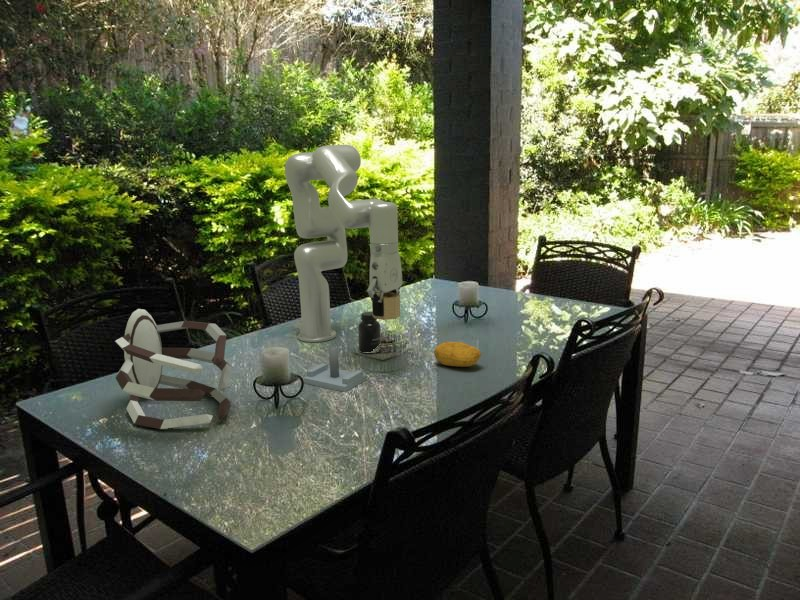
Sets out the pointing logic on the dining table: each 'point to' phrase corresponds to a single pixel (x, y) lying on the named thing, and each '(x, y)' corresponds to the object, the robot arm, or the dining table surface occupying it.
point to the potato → (457, 354)
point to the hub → (390, 306)
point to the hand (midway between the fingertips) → (386, 311)
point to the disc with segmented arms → (149, 357)
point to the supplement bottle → (368, 332)
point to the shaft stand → (334, 375)
